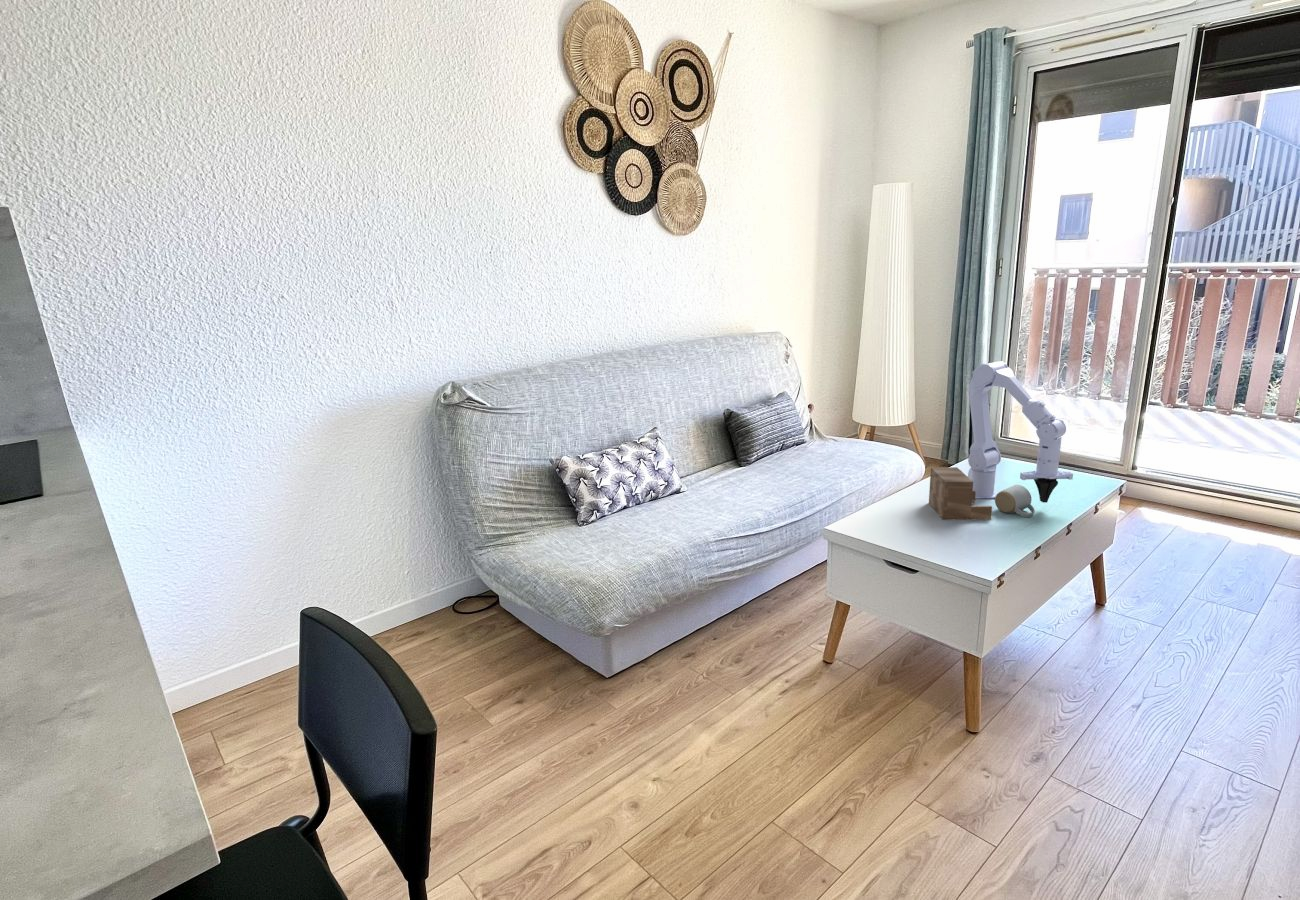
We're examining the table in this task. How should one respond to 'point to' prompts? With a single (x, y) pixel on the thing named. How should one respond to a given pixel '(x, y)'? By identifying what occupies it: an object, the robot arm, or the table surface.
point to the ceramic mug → (1014, 500)
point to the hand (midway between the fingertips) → (1043, 501)
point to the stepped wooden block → (954, 495)
